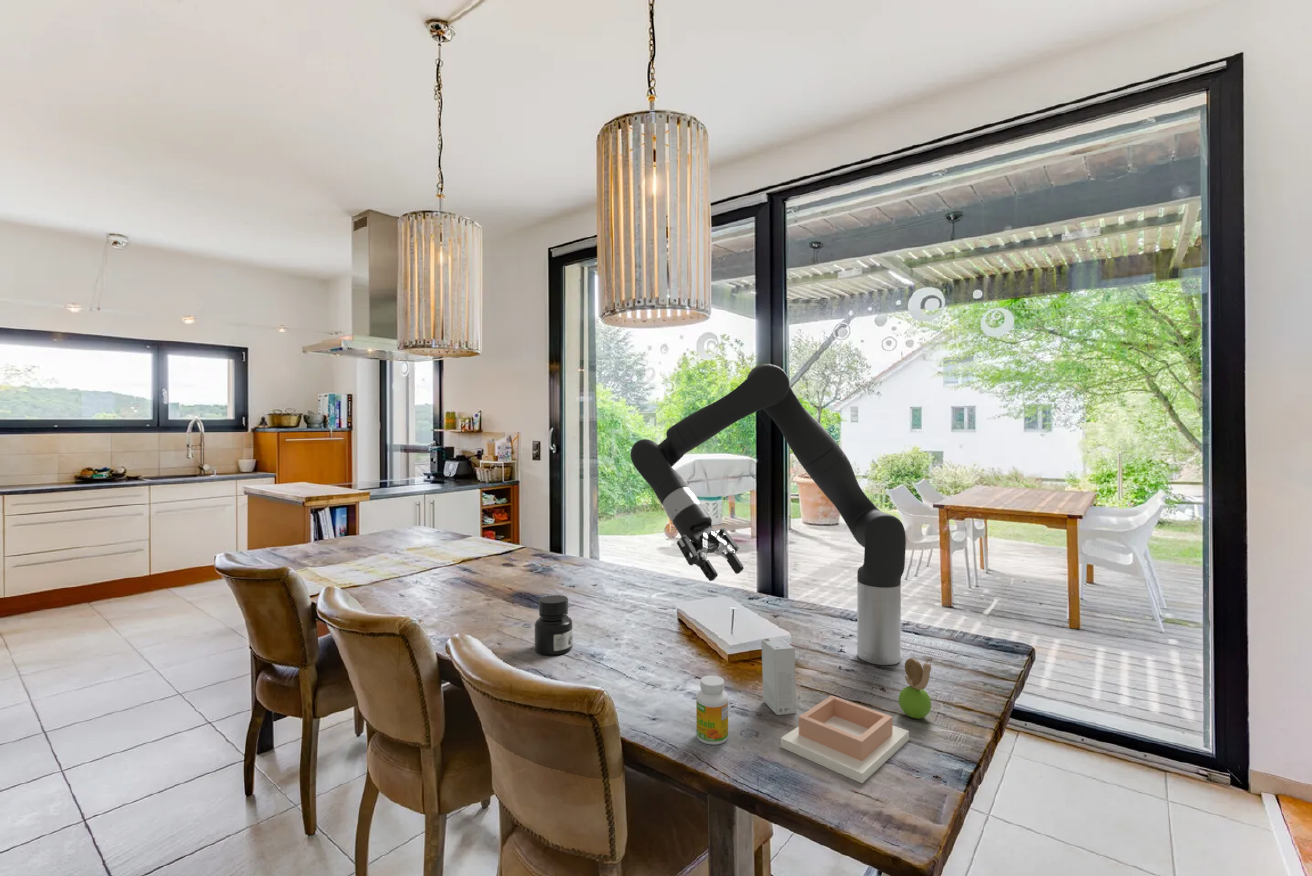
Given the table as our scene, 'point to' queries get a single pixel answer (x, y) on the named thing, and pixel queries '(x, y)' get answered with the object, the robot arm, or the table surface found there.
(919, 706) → the snail figurine
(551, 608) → the ink bottle
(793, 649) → the skincare box
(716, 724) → the supplement bottle
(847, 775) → the socket stand
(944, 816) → the table surface
